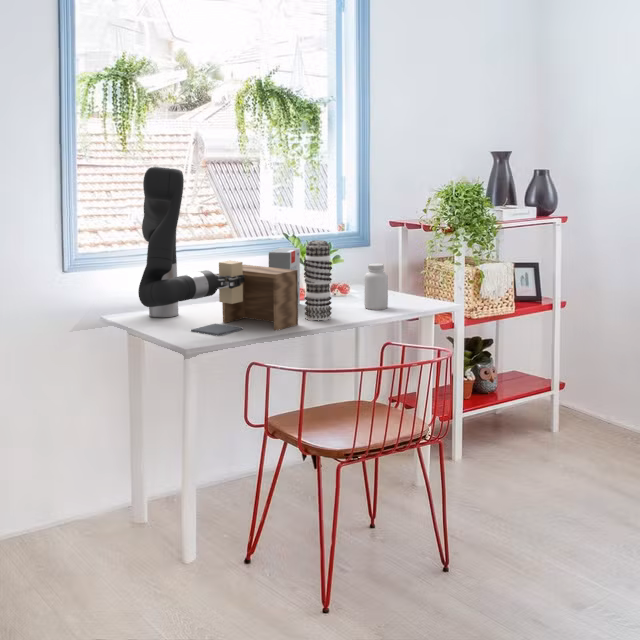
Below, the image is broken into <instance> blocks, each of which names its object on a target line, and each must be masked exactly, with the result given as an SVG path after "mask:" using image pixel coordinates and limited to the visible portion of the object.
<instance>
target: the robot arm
mask: <svg viewBox="0 0 640 640" xmlns="http://www.w3.org/2000/svg"><path fill="white" fill-rule="evenodd" d="M142 181H143V184H142V186H143V193H144V194H143V195H144V200H143V218H142V222H141V223H142V224H141V231H142V232H141V234H142V236H143V238H144V240H145V241H146V242H148V243H147V252H146V253H147V254H146V265H145V268H144V270H143V273H142V275H141V279H140V283H139V286H138V298H139V301H140V303H141V304H142V305H143V306H144V307H147V308H148V314H149V315H148V316H149V318H151V317H152V318H171V317H176V316H178V315H179V302H184V301H190V300H198V299H203V298H208V297H210V296H211V297H212V296H213V295H215V294H216V292H217V291H218V290H219V289H222V288H226V287H229V288H230V289H232V288H235V287H238V286H241V283H243V282H245V276H244V275H239V276H232V277H231V276H229V275H225V276H221V275H219V273H214V272H212V271H211V270H201V271H196V272H190V273H187V274H185V275H180V276H178V262H177V261H178V260H177V227H178V223H179V216H180V211H181V207H182V206H181V205H182V201H183V193H184V182H185V181H184V174H183V172H182V170H181V169H178V168H170V167H161V166H151V167H149V168H147V170H146V171H145V173H144V176H143V180H142ZM226 278H227V282H226Z"/></svg>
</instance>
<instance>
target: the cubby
mask: <svg viewBox="0 0 640 640" xmlns="http://www.w3.org/2000/svg"><path fill="white" fill-rule="evenodd" d="M242 265H243V275H244V276H245V282H243V301H242V302H238V303H234V304H229V303H223V302H221V304H222V324H223V323H230V321H231V322H233V321H234V320H235V321H239V320H242V318H243V319H250V318H251V319H252V320H257V319H258V321H264V320H265V321H264V322H271V321H273V330H274V331H276V330H277V331H280V330H283V328H284V329H287V328H290V327H291V328H292V327H294V326H297V325H299V309H298V308H299V305H298V273H297V270H292V269H282V268H272V267H269V266H261V265H251V264H242ZM238 319H239V320H238ZM235 321H234V322H235ZM279 329H280V330H279Z"/></svg>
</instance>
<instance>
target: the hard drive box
mask: <svg viewBox="0 0 640 640" xmlns="http://www.w3.org/2000/svg"><path fill="white" fill-rule="evenodd" d="M300 251H301V248H300V247H278V248H276V249H274V250H271V251H269V252H268V267H272V268H282V269H292V270H297V273H298V304H299V305H300V303H301V301H300V300H301V299H300V297H301V296H300V293H301V287H300V284H301V283H300V281H301V278H300V275H301V274H300V270H301V267H300V265H301V261H300V259H301V258H300V256H301V252H300Z"/></svg>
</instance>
